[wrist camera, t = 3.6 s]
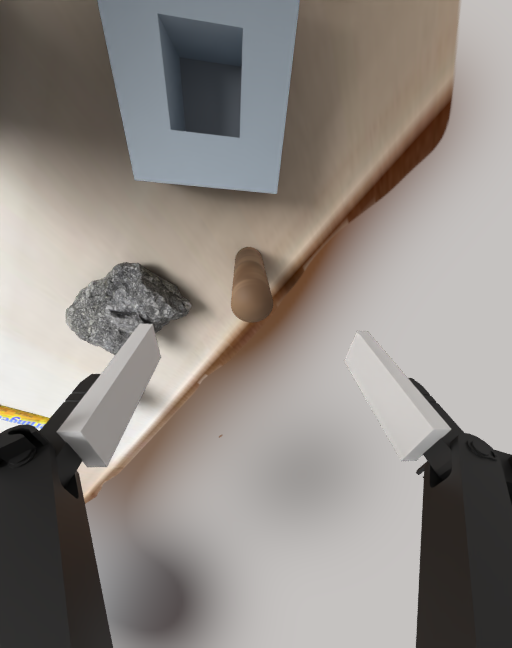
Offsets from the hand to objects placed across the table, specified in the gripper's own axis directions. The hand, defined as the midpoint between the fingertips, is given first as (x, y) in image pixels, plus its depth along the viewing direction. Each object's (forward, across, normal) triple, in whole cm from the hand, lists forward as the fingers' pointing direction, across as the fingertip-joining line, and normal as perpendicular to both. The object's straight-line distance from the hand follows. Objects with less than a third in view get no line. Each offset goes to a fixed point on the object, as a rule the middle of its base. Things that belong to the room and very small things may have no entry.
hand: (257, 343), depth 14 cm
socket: (+17, -4, +14) cm, 22 cm away
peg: (+17, 0, 0) cm, 17 cm away
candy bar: (+18, -44, -37) cm, 60 cm away
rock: (+17, -16, -6) cm, 24 cm away
